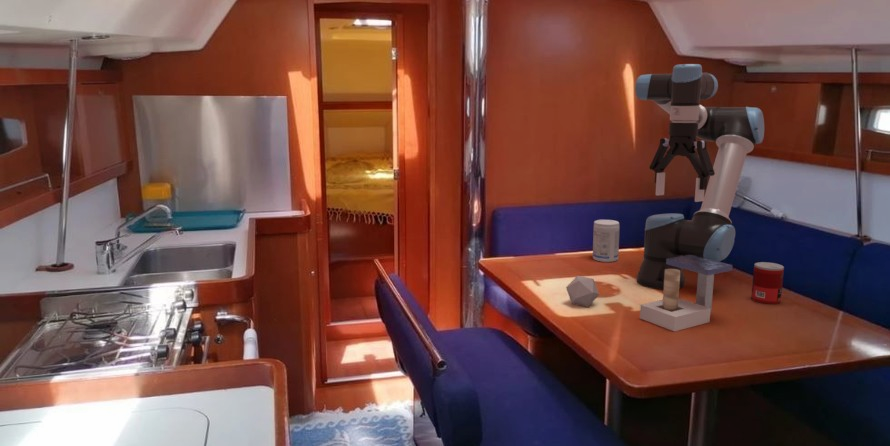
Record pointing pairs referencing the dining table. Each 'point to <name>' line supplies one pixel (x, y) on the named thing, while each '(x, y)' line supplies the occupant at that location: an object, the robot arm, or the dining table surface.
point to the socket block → (675, 315)
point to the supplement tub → (606, 240)
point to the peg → (671, 289)
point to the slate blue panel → (701, 274)
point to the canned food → (767, 282)
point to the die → (582, 291)
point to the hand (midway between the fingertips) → (678, 198)
